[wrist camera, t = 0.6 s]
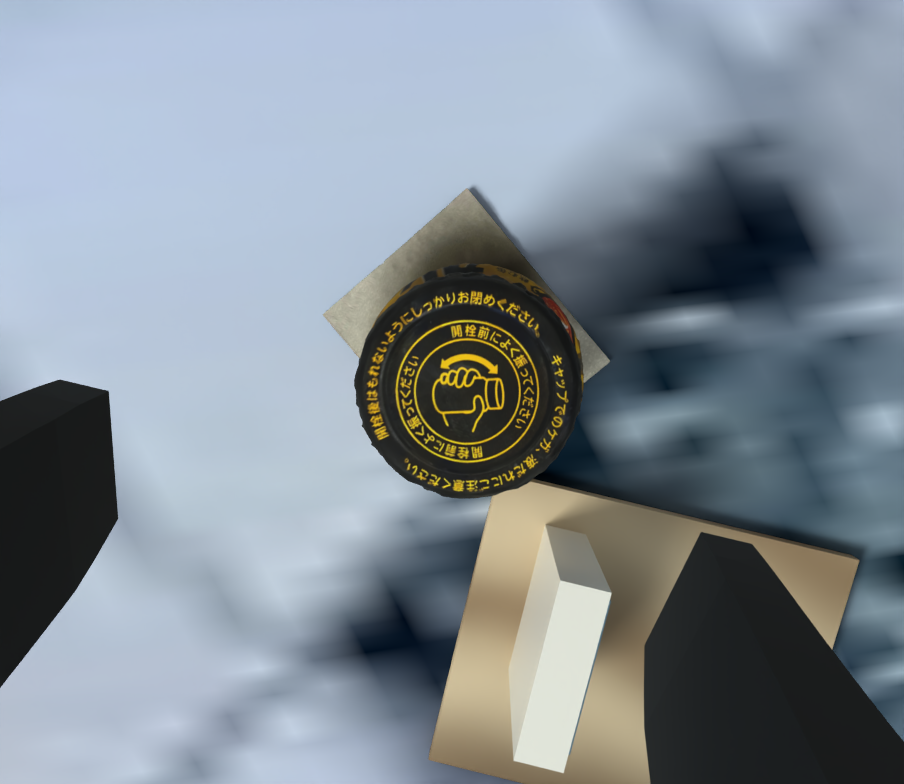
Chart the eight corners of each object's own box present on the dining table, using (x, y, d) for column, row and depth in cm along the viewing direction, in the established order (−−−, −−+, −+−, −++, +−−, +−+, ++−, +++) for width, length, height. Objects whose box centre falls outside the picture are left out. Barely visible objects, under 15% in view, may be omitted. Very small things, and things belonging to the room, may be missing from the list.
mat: (766, 834, 30) (772, 845, 29) (429, 750, 30) (428, 759, 30) (851, 554, 28) (859, 560, 28) (498, 470, 29) (498, 473, 28)
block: (551, 679, 29) (568, 774, 23) (508, 669, 29) (513, 760, 23) (589, 535, 28) (616, 593, 22) (545, 524, 28) (560, 580, 22)
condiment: (464, 480, 29) (446, 595, 17) (323, 314, 29) (204, 314, 17) (609, 361, 28) (697, 395, 16) (467, 189, 28) (451, 95, 16)
